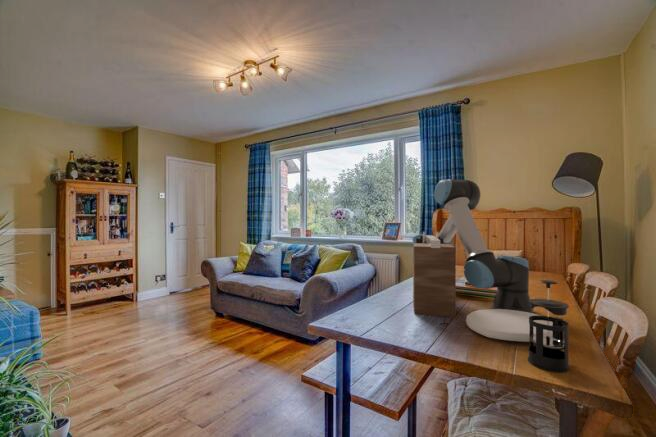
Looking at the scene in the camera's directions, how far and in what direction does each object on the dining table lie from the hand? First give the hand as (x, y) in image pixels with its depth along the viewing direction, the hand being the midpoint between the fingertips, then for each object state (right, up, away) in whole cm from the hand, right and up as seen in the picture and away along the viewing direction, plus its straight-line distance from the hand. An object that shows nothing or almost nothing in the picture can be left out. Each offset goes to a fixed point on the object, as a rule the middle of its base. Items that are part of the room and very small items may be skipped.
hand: (430, 234), depth 145 cm
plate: (+16, -33, -35) cm, 51 cm away
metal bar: (-2, -4, -6) cm, 8 cm away
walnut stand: (-2, -32, -10) cm, 34 cm away
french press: (+13, -33, -59) cm, 69 cm away
